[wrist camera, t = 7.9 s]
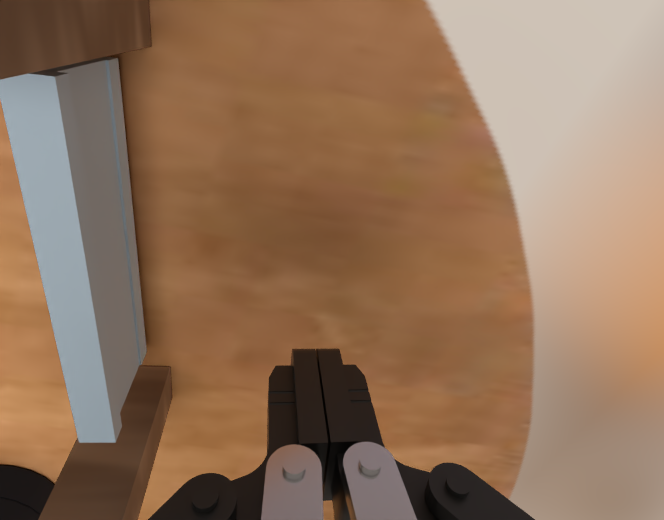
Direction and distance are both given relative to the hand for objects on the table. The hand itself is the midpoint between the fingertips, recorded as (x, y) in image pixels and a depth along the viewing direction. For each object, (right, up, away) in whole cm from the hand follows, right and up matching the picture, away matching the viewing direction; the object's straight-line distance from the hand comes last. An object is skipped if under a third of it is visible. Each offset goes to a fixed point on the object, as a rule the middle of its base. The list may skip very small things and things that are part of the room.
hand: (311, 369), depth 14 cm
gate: (-9, +5, +5) cm, 11 cm away
